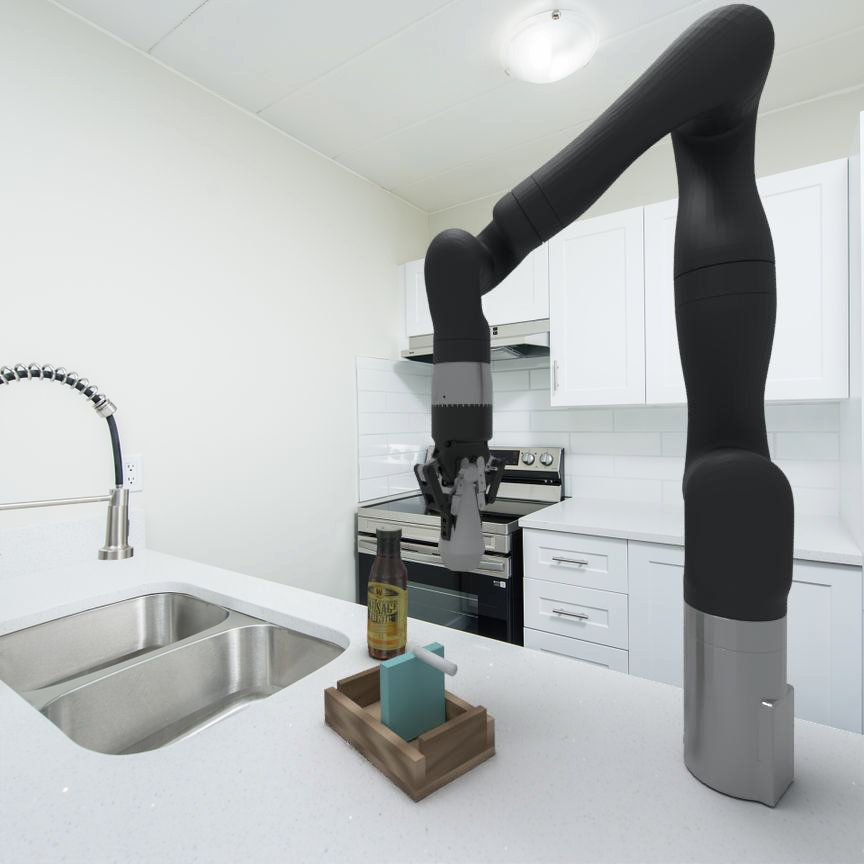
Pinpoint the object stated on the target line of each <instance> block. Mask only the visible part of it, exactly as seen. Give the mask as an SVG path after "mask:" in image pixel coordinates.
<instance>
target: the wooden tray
mask: <svg viewBox="0 0 864 864" xmlns="http://www.w3.org/2000/svg"><path fill="white" fill-rule="evenodd" d="M323 692H324V693H323V695H324V696H323V698H324V701H323V702H324V723H326V724H327V725H328V726H329V727H330V728H331V729H332V730H333V731H335V732H336V733H337V734H338V735H339V736H340V737H341V738H343V740H345V741H346V742H347V743H348V744H349V745H351V747H353V749H355V750H356V751H357V752H358V753H359V754H361V755H362V756H363V757H364V758H365V759H366V760H367V761H369V763H371V764H372V765H373V766H375V768H377V769H378V770H379V771H380V772H381V773H383V775H384V776H386V777H387V778H388V779H389V780H390V781H391V782H392V783H394V784H395V785H396V786H397V787H398V788H399V789H400V790H401V791H402V792H403V793H404V794H406V795H407V796H408V797H410V798H411V799H412V801H414V802H415V803H417V802H419V801H421V800H422V799H424V798H425V797H428V796H429V795H430V794H432V793H434V792H436V791H437V790H438V789H440V788H442V787H444V786H446V785H447V784H448V783H449V784H450V783H451V782H452V781H454V780H455V779H457V778H458V777H460V776H462V775H464V774H466V773H467V772H469V771H471V770H472V769H473V768H475V767H476V766H478V765H480V764H482V763H483V762H484V761H486V760H488V759H489V758H491V757H492V756H494V755H496V729H495V728H496V727H495V725H496V721H495V720H496V719H495V717H494V716H491V715H490V714H488V708H486V707H485V706H483V705H481V704H479V705H478V706H474V705H473V704H471V703H469V702H468V701H466V700H464V699H462V698H460V697H459V696H457V695H455V694H453V693H452V692H450V691H449V690H447V689H445V723H443V724H441V725H439V726H437V727H435V728H433V729H431V730H429V731H427V732H425V733H423V734H421V735H419V736H417V737H415V738H413V739H411V740H409V741H407V742H406V741H404V740H403V739H402V738H400V737H399V736H398V735H397V734H395V733H394V732H393V731H391V730H390V729H389V728H387V727H386V726H385V725H383V724H382V723H381V697H380V664H379V665H376V666H373V667H371V668H368V669H365V670H363V671H360V672H358V673H355V674H352V675H350V676H346V677H344V678H342V679H339V680H336V687H335V686H334V685H332V686H330V687H327V688H324V689H323Z"/></svg>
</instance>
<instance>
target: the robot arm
mask: <svg viewBox="0 0 864 864" xmlns="http://www.w3.org/2000/svg"><path fill="white" fill-rule="evenodd" d="M775 33H776V32H775V30H774V26H773V23H772V20H771V19H770V18H769V16H768V15H767V14H766V13H765V12H764V11H763V10H762V9H760V8H758V7H756V6H754V5H750V4H747V3H731V4H727V5H722V6H720V7H717V8H714V9H712V10H710V11H708V12H707V13H705V14H703V15H702V16H700V17H698V18H697V19H696V20H694V22H692V24H690V25H689V26H688V27H687V28H686V29H685V30H684V31H683V32H682V33H680V34H679V35H678V36H677V37H676V38H675V39H674V40H673V41H672V43H670V45H669V46H668V47H667V48H665V50H664V51H663V52H662V53H661V54H660V55H659V56H658V57H657V58H656V59H655V60H654V62H652V64H650V66H649V67H648V68H646V70H645V71H644V72H643V73H642V74H641V75H640V76H639V77H638V78H637V79H636V80H635V81H633V83H632V84H631V85H630V86H629V87H628V88H627V89H626V90H625V91H624V92H623V93H622V94H621V95H620V96H619V97H617V99H616V100H615V101H614V102H613V103H612V104H611V105H609V107H607V108H606V109H605V110H604V111H603V112H602V113H601V114H600V115H599V116H598V117H597V118H596V119H594V120H593V122H592V123H591V124H590V125H589V126H587V127H586V128H585V129H584V130H583V131H582V132H581V133H580V134H578V135H577V136H576V137H575V138H574V139H573V140H572V141H571V142H570V143H568V144H567V145H566V146H564V148H563V149H561V150H560V151H559V152H558V153H557V154H555V155H554V156H553V157H552V158H550V160H548V161H547V162H545V163H544V164H543V165H541V167H538V169H536V170H535V171H533V172H532V173H531V174H530V175H529V176H527V177H526V178H525V179H523V180H522V181H521V182H519V183H518V184H517V185H516V186H514V187H513V188H512V189H510V191H508V192H506V194H504V195H503V196H502V197H501V198H500V199H499V200H498V201H497V202H496V203H495V205H493V208H492V220H491V221H490V222H489V223H488V224H487V225H486V226H485V227H484V228H483V229H482V230H481V231H480V232H479V233H478V234H477V235H476V236H474V235H473V234H472V233H471V232H469V231H466V230H465V229H462V228H457V227H455V228H454V227H453V228H447V229H444V230H442V231H440V232H439V233H437V235H435V236H434V238H433V239H432V240H431V242H430V243H429V246H428V247H427V250H426V252H425V256H424V257H425V258H424V264H423V278H424V286H425V292H426V299H427V303H428V309H429V314H430V318H431V322H432V327H433V334H432V335H433V337H432V351H433V352H432V364H433V365H432V367H433V368H432V376H431V384H430V385H431V387H430V392H431V395H430V397H431V398H430V399H431V400H430V404H431V405H430V408H431V409H430V410H431V411H430V413H431V417H430V419H431V422H430V423H431V424H430V425H431V429H430V430H431V431H430V433H431V435H430V437H431V439H432V440H433V443H434V446H433V447H434V449H433V450H432V453H431V458H430V459H429V460H427V461H426V462H424V463H415V465H414V466H413V472H414V475H415V479H416V480H417V484H418V486H419V489H420V492H421V494H422V496H423V499H424V503H425V505H426V507H427V509H429V510H433V511H437V512H438V513H439V514H440V532H441V538H442V540H446V541H449V542H450V538H451V531H452V529H451V528H452V525H453V527H454V530H455V528H456V522H457V516H458V515H456V514H457V513H458V511H459V503H460V497H461V496H462V495H463V493H464V486H465V478H464V473H465V472H467V471H468V466H469V463H473V464H475V465H476V467H477V469H478V471H479V476H478V480H477V481H475V482H473V483H474V489H475V495H476V500H477V506H478V511H479V516H480V521H481V527H482V528H483V511H484V510H485V509H486V506H487V505H493V504H494V503H495V502H496V499H497V497H498V493H499V490H500V485H501V482H502V479H503V475H504V472H505V470H506V469H505V468H506V465H507V464H506V460H505V459H503V458H496V457H494V456H493V455H491V451H490V448H489V441H491V440H492V439H493V437H494V435H493V433H494V432H493V431H494V430H493V429H494V428H493V427H494V426H493V425H494V423H493V422H494V417H493V416H494V413H493V412H494V410H493V409H494V407H493V406H494V405H493V404H494V401H493V399H494V398H493V394H494V392H493V391H494V389H493V388H494V386H493V385H494V384H493V376H492V369H491V368H492V367H491V361H492V359H491V355H492V354H491V347H492V346H491V341H492V339H491V328H490V323H489V321H488V320H487V319H486V316H485V314H484V312H483V303H482V297H483V296H485V295H486V294H488V293H490V292H492V291H493V290H494V289H495V288H496V287H498V285H500V284H501V283H502V282H503V281H505V279H506V278H508V277H509V275H510V274H511V273H513V272H514V270H515V269H516V268H518V266H520V264H521V263H522V262H523V261H524V260H525V259H526V257H528V256H529V255H530V253H532V252H533V251H534V250H535V249H538V248H539V247H541V246H542V245H543V244H545V243H547V242H548V241H549V240H550V239H552V238H554V237H555V236H556V235H557V234H559V233H560V232H562V231H563V230H564V229H566V228H567V227H569V226H570V225H571V224H573V223H574V222H575V221H577V220H578V219H579V218H580V217H582V216H583V214H585V213H586V212H587V211H588V210H589V209H590V208H591V207H592V206H593V205H594V204H595V203H596V202H597V201H598V200H599V199H600V198H601V197H602V196H603V195H604V194H605V193H606V192H607V190H609V189H610V187H612V185H613V184H614V183H615V182H616V181H617V180H618V179H619V178H620V177H621V175H622V174H623V173H625V172H626V171H627V170H628V168H630V166H632V164H633V163H634V162H635V161H637V159H639V158H640V157H641V156H642V155H643V154H645V153H646V151H648V150H650V148H651V147H653V146H654V145H656V144H657V143H658V142H659V141H660V140H662V139H664V138H665V137H666V136H668V135H669V134H670V138H671V143H672V148H673V154H674V156H673V157H674V163H675V169H676V171H675V172H676V175H677V176H676V177H677V179H676V180H677V185H678V186H677V189H678V190H677V191H678V201H677V213H676V222H675V229H674V230H675V233H674V245H673V271H672V273H673V277H672V278H673V279H672V280H673V296H674V297H673V300H674V316H675V317H674V318H675V319H674V320H675V327H676V336H677V337H676V338H677V344H678V351H679V359H680V365H681V371H682V377H683V382H684V386H685V395H686V401H687V402H686V404H687V428H686V431H687V432H686V445H685V460H684V469H683V474H682V475H683V476H682V484H681V485H682V486H681V491H682V498H683V502H684V503H683V507H684V508H683V510H684V512H683V513H684V514H683V515H684V520H683V521H684V522H683V523H684V524H683V525H684V534H683V535H684V558H683V559H684V563H683V575H682V576H683V577H682V581H683V582H682V584H683V585H682V587H683V588H682V589H683V591H682V593H683V596H682V597H683V736H682V737H683V738H682V739H683V741H682V742H683V760H684V763H685V765H686V767H687V769H688V770H689V771H690V773H692V775H693V776H695V778H697V780H699V781H700V782H702V783H704V784H705V785H707V786H708V787H710V788H712V789H714V790H716V791H718V792H720V793H723V794H726V795H728V796H731V797H735V798H740V799H743V800H749V801H755V802H756V801H757V802H761V803H763V804H765V805H767V806H769V807H774V806H776V804H777V803H778V801H779V800H780V799H781V797H782V796H783V795H784V793H785V792H786V791H787V789H788V788H789V786H790V785H791V784H792V783H793V781H794V779H795V687H794V685H792V684H790V683H787V682H788V681H787V680H788V674H787V673H788V597H789V595H790V594H789V593H790V592H791V588H792V585H793V577H794V576H793V574H794V550H795V548H794V547H795V546H794V544H795V501H794V494H793V488H792V486H791V484H790V481H789V479H788V477H787V476H786V474H785V473H784V471H783V470H782V469H781V468H780V467H779V466H778V465H777V464H775V462H773V461H772V459H771V453H770V448H769V441H768V440H769V439H768V432H767V423H766V414H765V395H766V394H765V393H766V384H767V378H768V374H769V367H770V363H771V357H772V352H773V346H774V339H775V331H776V324H777V312H778V311H777V308H778V306H777V305H778V297H777V295H778V293H777V291H778V290H777V272H776V271H777V270H776V254H775V246H774V241H773V235H772V232H771V228H770V224H769V221H768V218H767V215H766V212H765V208H764V205H763V202H762V200H761V196H760V193H759V190H758V186H757V181H756V171H755V168H756V167H755V158H756V157H755V156H756V135H757V134H756V132H757V131H756V130H757V119H758V113H759V106H760V101H761V97H762V94H763V91H764V88H765V86H766V82H767V79H768V76H769V72H770V69H771V67H772V62H773V57H774V52H775V47H776V46H775V45H776V42H775V40H776V39H775V36H776V34H775ZM449 485H454V487H453V488H450V487H449ZM449 494H450V502H449V503H448V497H449Z"/></svg>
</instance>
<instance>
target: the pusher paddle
mask: <svg viewBox="0 0 864 864" xmlns="http://www.w3.org/2000/svg"><path fill="white" fill-rule="evenodd" d="M379 665H380V697H381V723H382V724H383V725H385V726H386V727H387V728H389V729H390V730H391V731H393V732H394V733H395V734H397V735H398V736H399V737H400V738H402V739H403V740H404V741H406V742H407V741H409V740H411V739H413V738H415V737H417V736H419V735H421V734H423V733H425V732H427V731H429V730H431V729H433V728H435V727H437V726H439V725H441V724H443V723H445V690H446V689H445V688H446V681H445V680H446V678H445V676H446V675H445V674H447V675H448V676H450V677H454V676H456V674H457V673H458V670H459V669H458V666H457V664H455V663H454V662H452V661H449V660H447V659H445V646H444V645H443V644H442V643H438V642H432V643H429V644H427V645H424V646H420V645H416V646H415V647H414V648H413V650H411V651H408V652H404V653H403V654H402V655H400V656H397V657H394V658H392V659H385V660H384V661H381V662H379Z"/></svg>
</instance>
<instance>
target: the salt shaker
mask: <svg viewBox="0 0 864 864" xmlns="http://www.w3.org/2000/svg"><path fill="white" fill-rule="evenodd" d="M478 476H479V471H478V469H477V467H476V465H475V464H473V463H469V466H468V471H467V472H465V473H464V478H465V486H464V493H463V495H462V496H461V497H460V503H459V511H458V513H457V514H456V515H458V516H457V522H456V528H455V530H454V527H453V525H452V528H451V529H452V531H451V538H450V542H449V541H446V540H442V538H441V531H440V533H439V539H438V546H437V550H438V553H439V556H440V558H441V561H442V563H443V565H444V567H445V568H446V569H448V570H450V571H452V572H453V571H454V572H466V573H467V572H470V571H474V570H475V571H476V570H478V568H479V566H480V564H481V562H482V559H483V557H484V554H485V551H486V543H485V540H484V532H483V526H482V527H481V521H480V516H479V511H478V506H477V500H476V495H475V489H474V483H473V482H475V481H477V480H478ZM449 487H450V488H453V487H454V485H449ZM449 502H450V494H449V497H448V503H449Z"/></svg>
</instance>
